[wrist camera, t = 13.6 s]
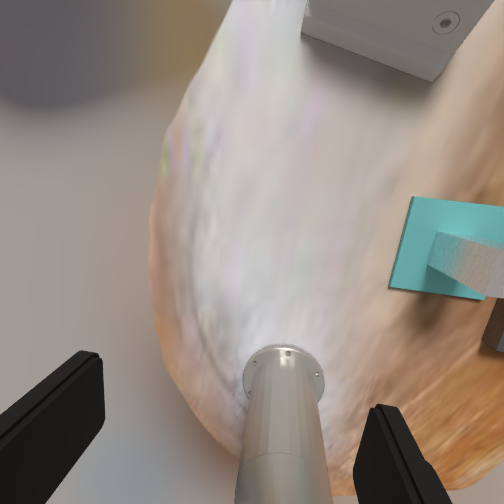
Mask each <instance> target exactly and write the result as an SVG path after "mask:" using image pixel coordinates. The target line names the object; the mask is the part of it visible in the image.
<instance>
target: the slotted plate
mask: <svg viewBox="0 0 504 504" xmlns="http://www.w3.org/2000/svg"><path fill="white" fill-rule="evenodd" d="M482 340H483V341H484V342H485V343H486V344H488V345H489V346H490V347H492V348H493V349H494V350H495V351H500V352H504V298H498V299H497V302H496V304H495V307H494V310H493V312H492V315H491V317H490V320H489V322H488V325H487V327H486V330H485V333H484V335H483V338H482Z"/></svg>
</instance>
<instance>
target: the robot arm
mask: <svg viewBox="0 0 504 504" xmlns="http://www.w3.org/2000/svg"><path fill="white" fill-rule="evenodd" d="M103 382H104V381H103V362H102V359H101V358H99V355H98V354H97V353H94V352H88V351H83V350H82V351H79V352H77V353H76V354H74V355H73V356H72V357H71V358H70V359H68V360H67V361H66V362H65V363H63V364H62V365H61V366H60V367H58V368H57V369H56V370H55V371H54V372H52V373H51V374H50V375H49V376H47V377H46V378H45V379H44V380H42V381H41V382H40V383H39V384H38V385H36V386H35V387H34V388H33V389H31V390H30V391H29V392H28V393H27V394H25V395H24V396H23V397H22V398H20V399H19V400H18V401H17V402H15V403H14V404H13V405H12V406H10V407H9V408H8V409H7V410H6V411H4V412H3V413H2V414H1V415H0V504H45V503H46V502H47V501H48V499H49V498H50V497H51V495H52V494H53V493H54V491H55V490H56V488H57V487H58V486H59V484H60V483H61V482H62V481H63V479H64V478H65V477H66V475H67V474H68V472H69V471H70V470H71V468H72V467H73V466H74V464H75V463H76V462H77V460H78V459H79V458H80V456H81V455H82V454H83V452H84V451H85V450H86V448H87V447H88V446H89V444H90V443H91V442H92V440H93V439H94V437H95V436H96V435H97V434H98V432H99V431H100V430H101V428H102V426H103V424H104V421H105V402H104V383H103ZM243 385H244V389H245V392H246V394H247V395H248V397H249V399H250V400H249V406H248V412H247V419H246V425H245V432H244V438H243V444H242V451H241V457H240V464H239V470H238V476H237V483H236V490H235V504H333V500H332V493H331V488H330V481H329V475H328V468H327V462H326V455H325V449H324V443H323V436H322V430H321V423H320V417H319V411H318V404H317V403H318V402H319V401H320V399H321V398H322V395H323V392H324V386H325V383H324V376H323V372H322V370H321V368H320V365H319V364H318V363H317V361H316V360H315V359H314V358H313V357H312V356H311V355H310V354H309V353H307V352H305V351H304V350H302V349H299V348H297V347H294V346H289V345H274V346H269V347H266V348H263V349H261V350H259V351H258V352H256V353H255V354H254V355H253V356H252V357H251V358H250V359H249V361H248V362H247V364H246V366H245V370H244V375H243ZM353 480H354V485H355V489H356V493H357V497H358V502H359V504H452V502H451V500H450V498H449V496H448V494H447V492H446V490H445V489H444V487H443V485H442V483H441V481H440V479H439V477H438V475H437V473H436V472H435V470H434V469H433V467H432V465H430V464H429V463H428V462H427V461H425V459H424V457H423V455H422V453H421V451H420V449H419V447H418V445H417V443H416V442H415V440H414V438H413V436H412V434H411V432H410V430H409V428H408V426H407V424H406V422H405V420H404V418H403V416H402V414H401V412H400V411H399V409H398V408H397V407H394V406H388V405H383V404H377V405H376V406H375V408H370V411H369V414H368V418H367V421H366V425H365V428H364V432H363V435H362V439H361V442H360V446H359V449H358V453H357V456H356V460H355V463H354V467H353Z"/></svg>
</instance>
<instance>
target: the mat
mask: <svg viewBox="0 0 504 504" xmlns="http://www.w3.org/2000/svg"><path fill="white" fill-rule="evenodd" d="M437 231H441V232H449V233H457V234H465V235H473V236H477V237H481V238H485V239H488V240H492V241H496V242H500V243H503V244H504V207H500V206H491V205H483V204H474V203H465V202H456V201H448V200H439V199H430V198H421V197H412V199H411V203H410V207H409V211H408V214H407V218H406V222H405V226H404V229H403V233H402V237H401V240H400V244H399V248H398V252H397V255H396V259H395V263H394V267H393V270H392V274H391V278H390V282H389V286H390V287H396V288H403V289H410V290H417V291H424V292H431V293H438V294H445V295H452V296H459V297H466V298H473V299H480V300H485V297H486V296H484V295H482V294H480V293H478V292H477V291H475V290H473V289H471V288H469V287H468V286H466V285H464V284H462V283H460V282H459V281H457V280H455V279H453V278H451V277H449V276H448V275H446V274H444V273H442V272H440V271H439V270H437V269H435V268H433V267H431V266H430V265H428V264H427V263H428V260H429V256H430V253H431V250H432V247H433V243H434V240H435V237H436V233H437Z"/></svg>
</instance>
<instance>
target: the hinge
mask: <svg viewBox="0 0 504 504" xmlns="http://www.w3.org/2000/svg"><path fill="white" fill-rule="evenodd" d="M493 1H494V0H307V5H306V10H305V14H304V19H303V24H302V28H301V33H304V34H306V35H309V36H312V37H314V38H317V39H320V40H322V41H325V42H327V43H330V44H333V45H335V46H338V47H340V48H343V49H346V50H348V51H351V52H354V53H356V54H359V55H361V56H364V57H367V58H369V59H372V60H374V61H377V62H380V63H382V64H385V65H387V66H390V67H393V68H395V69H398V70H401V71H403V72H406V73H408V74H411V75H414V76H416V77H419V78H421V79H424V80H427V81H429V82H432V81H433V80H434V79H435V78H436V77H437V76H438V75H439V74H440V73H441V72H442V71H443V69H444V68H445V66H446V65H447V64H448V62H449V61H450V59H451V58H452V56H453V55H454V53H455V52H456V51H457V49H458V48H459V47H460V45H461V44H462V43H463V41H464V40H465V39H466V37H467V36H468V35H469V33H470V32H471V31H472V29H473V28H474V27H475V25H476V24H477V23H478V21H479V20H480V19H481V17H482V16H483V15H484V13H485V12H486V11H487V9H488V8H489V7H490V6H491V4H492V3H493Z"/></svg>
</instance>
